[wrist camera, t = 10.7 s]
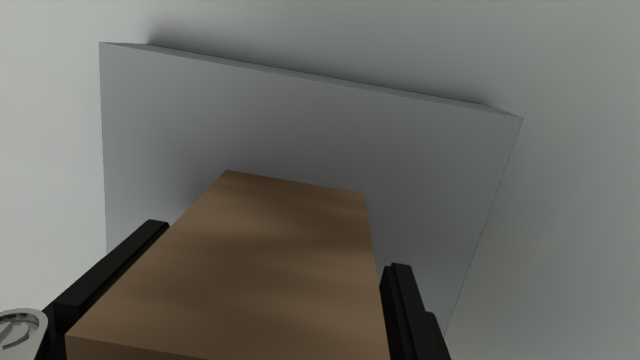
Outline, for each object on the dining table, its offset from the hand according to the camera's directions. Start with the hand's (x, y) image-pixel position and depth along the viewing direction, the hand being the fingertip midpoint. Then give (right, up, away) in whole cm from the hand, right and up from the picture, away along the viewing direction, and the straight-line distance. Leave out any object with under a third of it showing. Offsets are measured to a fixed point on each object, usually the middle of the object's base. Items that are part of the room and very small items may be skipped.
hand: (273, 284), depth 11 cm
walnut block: (0, +1, +3) cm, 3 cm away
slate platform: (0, +2, +5) cm, 6 cm away
